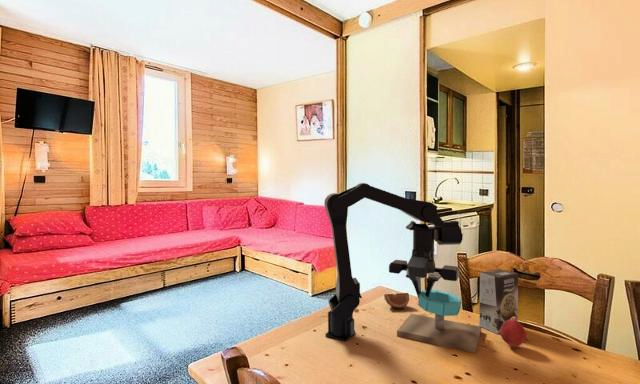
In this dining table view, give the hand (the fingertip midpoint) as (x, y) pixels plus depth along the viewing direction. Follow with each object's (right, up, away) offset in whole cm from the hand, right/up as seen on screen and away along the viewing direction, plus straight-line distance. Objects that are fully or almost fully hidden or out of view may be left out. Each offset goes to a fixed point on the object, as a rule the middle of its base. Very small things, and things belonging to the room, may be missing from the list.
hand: (423, 299), depth 100 cm
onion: (+20, -9, -10) cm, 24 cm away
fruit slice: (-4, -9, +19) cm, 21 cm away
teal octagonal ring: (+4, -2, -2) cm, 5 cm away
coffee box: (+23, -9, +2) cm, 24 cm away
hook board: (+4, -9, -2) cm, 10 cm away
